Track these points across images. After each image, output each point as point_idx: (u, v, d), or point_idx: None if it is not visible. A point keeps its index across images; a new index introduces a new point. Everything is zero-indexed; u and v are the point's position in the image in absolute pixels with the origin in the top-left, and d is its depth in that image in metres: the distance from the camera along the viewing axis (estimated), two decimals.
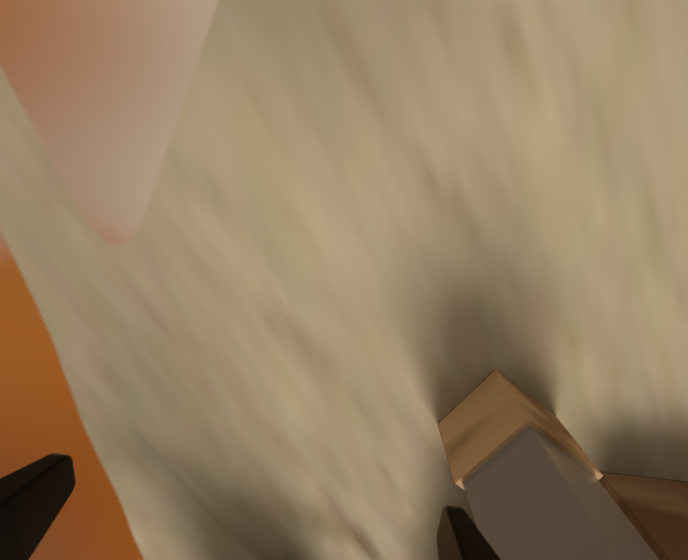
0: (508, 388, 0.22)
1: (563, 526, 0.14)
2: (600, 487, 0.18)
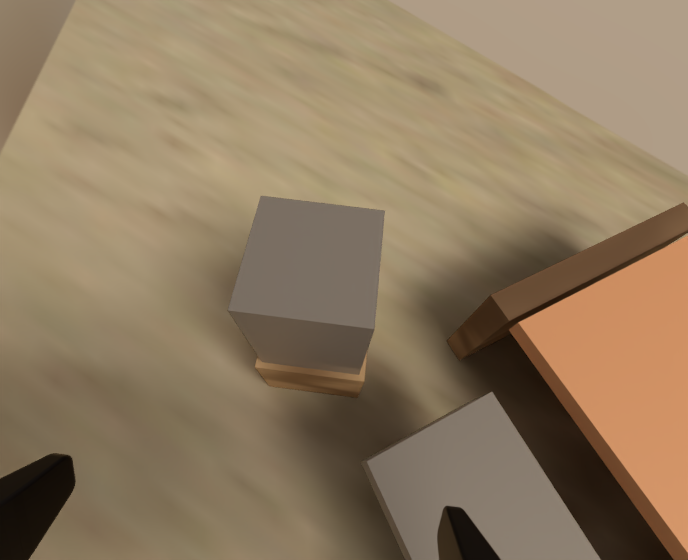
0: None
1: None
2: None
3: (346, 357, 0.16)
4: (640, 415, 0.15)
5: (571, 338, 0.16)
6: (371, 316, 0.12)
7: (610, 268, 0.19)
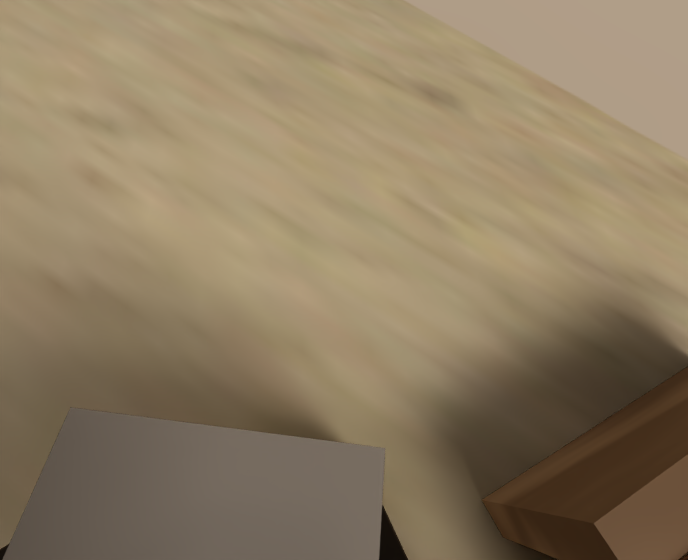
0: None
1: None
2: None
3: None
4: None
5: None
6: None
7: None
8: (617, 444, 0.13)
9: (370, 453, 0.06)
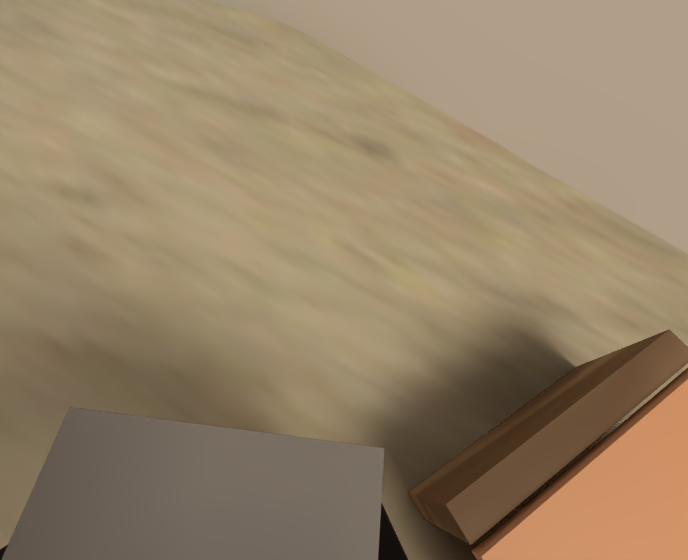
0: None
1: None
2: None
3: None
4: None
5: None
6: None
7: (591, 441, 0.15)
8: (493, 443, 0.18)
9: (369, 453, 0.06)
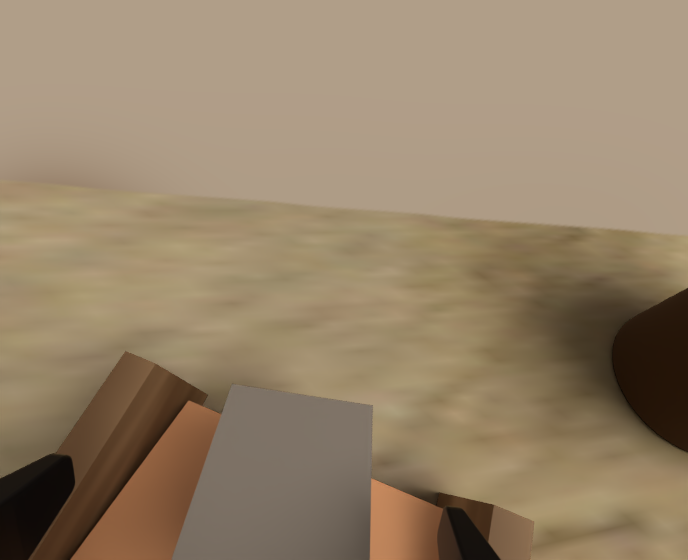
0: None
1: None
2: None
3: None
4: None
5: None
6: None
7: None
8: None
9: (366, 407, 0.13)
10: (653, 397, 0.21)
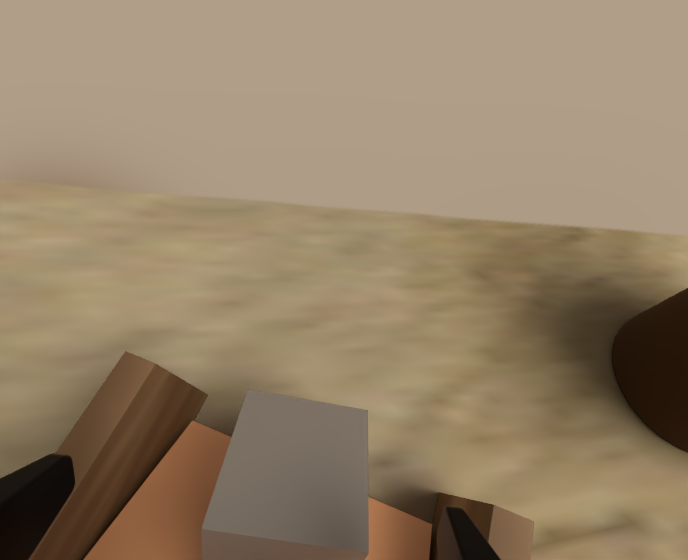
0: None
1: None
2: None
3: None
4: None
5: None
6: (363, 535, 0.11)
7: None
8: None
9: (362, 411, 0.15)
10: (653, 397, 0.21)
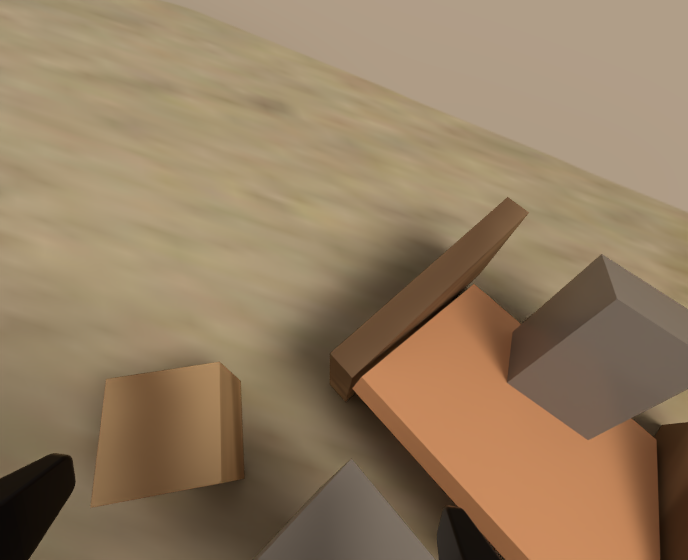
0: None
1: (573, 288, 0.20)
2: None
3: (624, 404, 0.17)
4: (477, 449, 0.16)
5: (408, 386, 0.17)
6: None
7: (447, 287, 0.18)
8: None
9: (683, 307, 0.19)
10: None
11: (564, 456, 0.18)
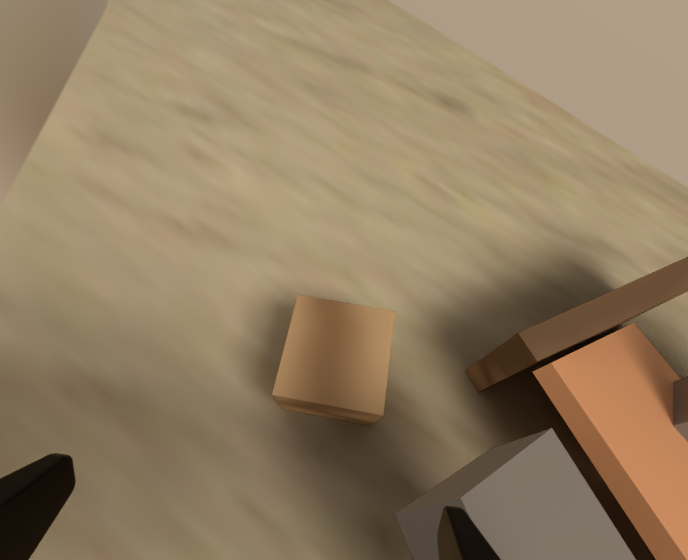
0: None
1: None
2: None
3: None
4: (653, 472, 0.15)
5: (589, 388, 0.17)
6: None
7: (643, 309, 0.18)
8: None
9: None
10: None
11: None
